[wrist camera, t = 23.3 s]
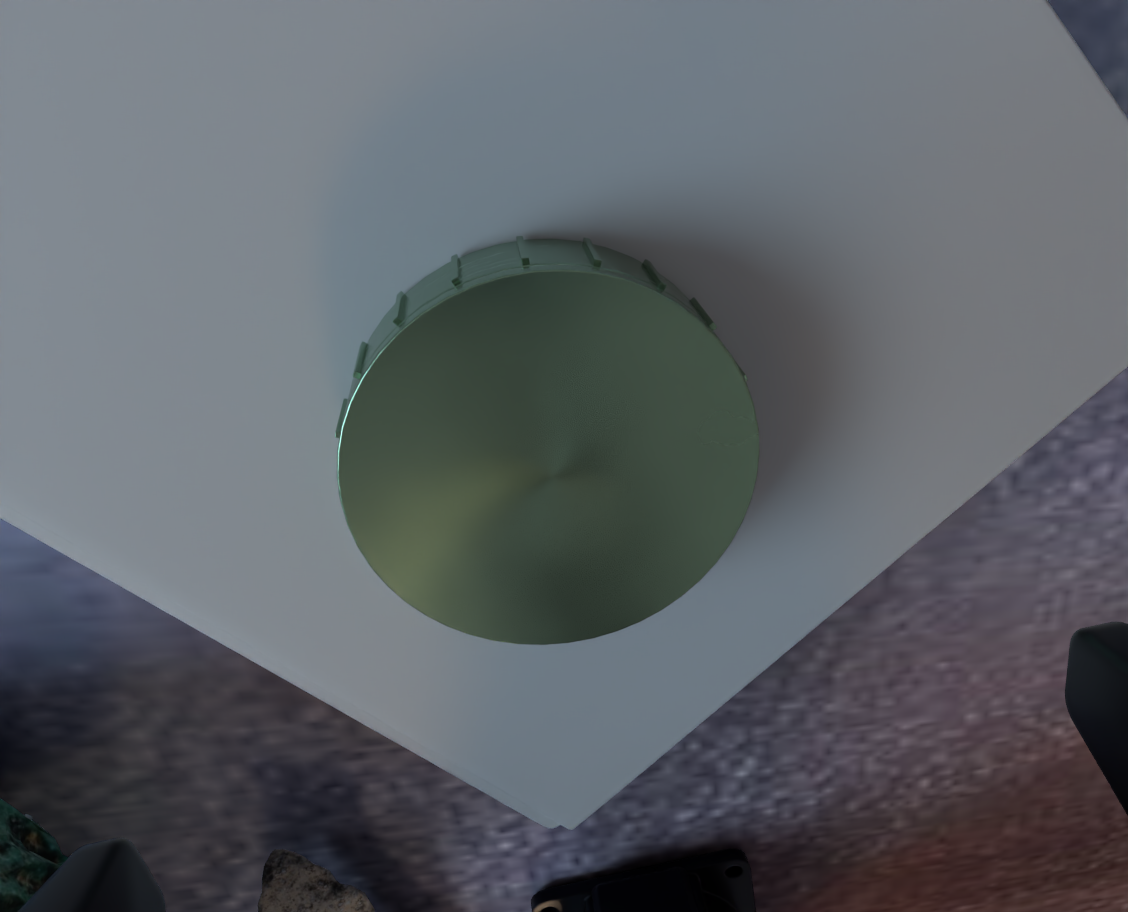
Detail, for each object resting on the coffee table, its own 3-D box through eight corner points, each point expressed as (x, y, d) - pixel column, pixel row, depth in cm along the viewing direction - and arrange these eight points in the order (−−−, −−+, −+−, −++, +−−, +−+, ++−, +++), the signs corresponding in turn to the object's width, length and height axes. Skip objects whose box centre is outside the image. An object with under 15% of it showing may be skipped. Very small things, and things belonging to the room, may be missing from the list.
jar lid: (334, 227, 14) (319, 260, 12) (758, 240, 15) (796, 272, 13) (354, 590, 17) (344, 653, 15) (706, 583, 18) (731, 643, 16)
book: (-194, -1822, 7) (1238, 276, 16) (20, -1223, 10) (1100, 224, 19) (-850, 109, 12) (535, 863, 21) (-560, 79, 15) (524, 740, 24)
